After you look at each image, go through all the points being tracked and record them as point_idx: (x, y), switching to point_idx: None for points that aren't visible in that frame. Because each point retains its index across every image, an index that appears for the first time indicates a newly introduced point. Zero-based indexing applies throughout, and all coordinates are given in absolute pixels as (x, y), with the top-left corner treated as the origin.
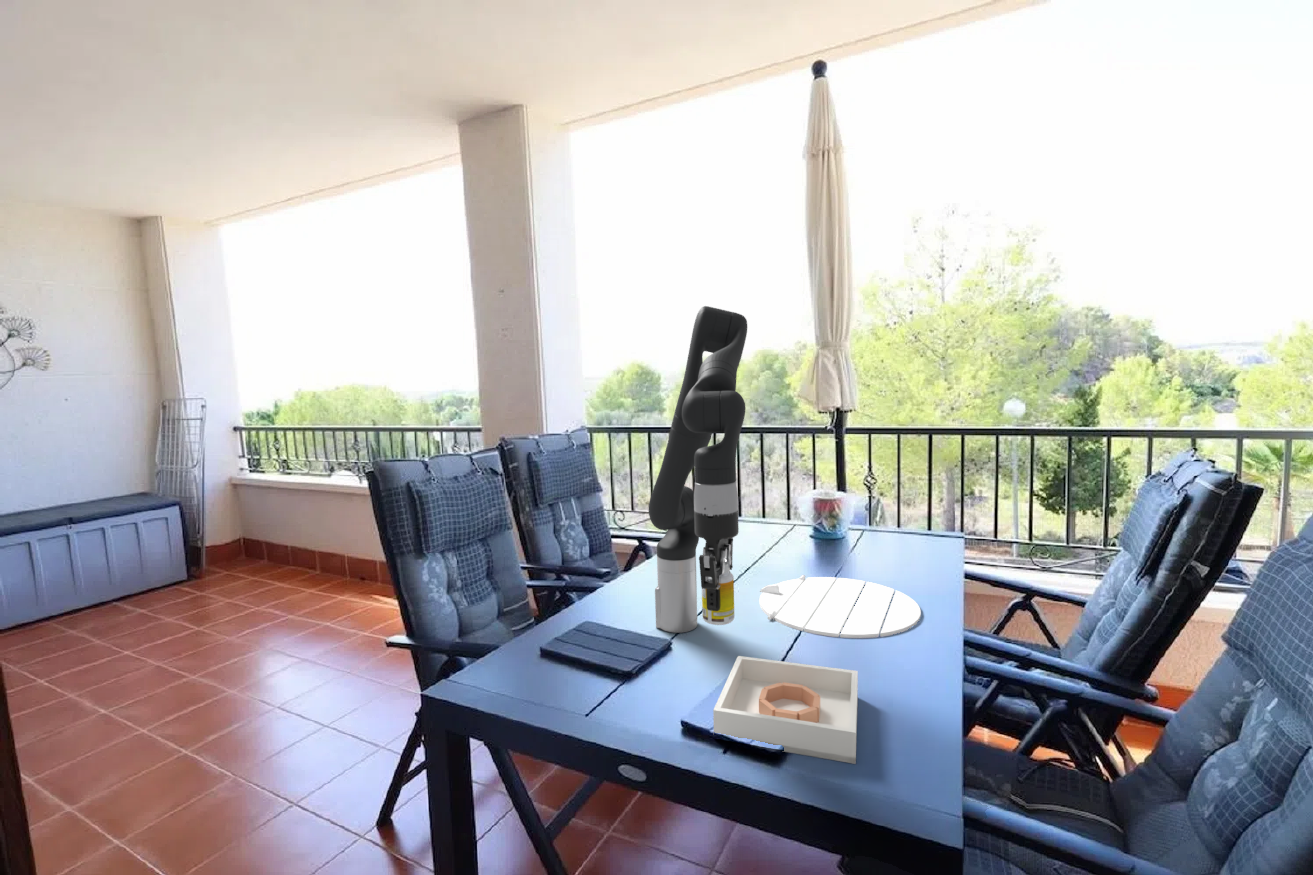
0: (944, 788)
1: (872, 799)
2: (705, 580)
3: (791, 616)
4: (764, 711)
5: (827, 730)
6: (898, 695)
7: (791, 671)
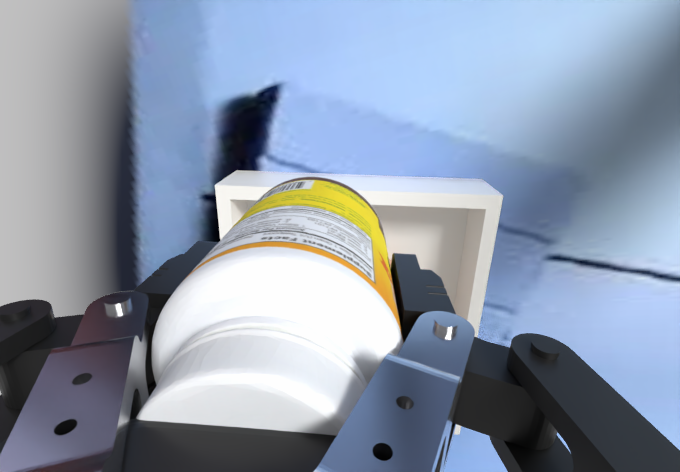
0: None
1: None
2: (11, 353)
3: None
4: None
5: None
6: (465, 445)
7: (463, 313)
